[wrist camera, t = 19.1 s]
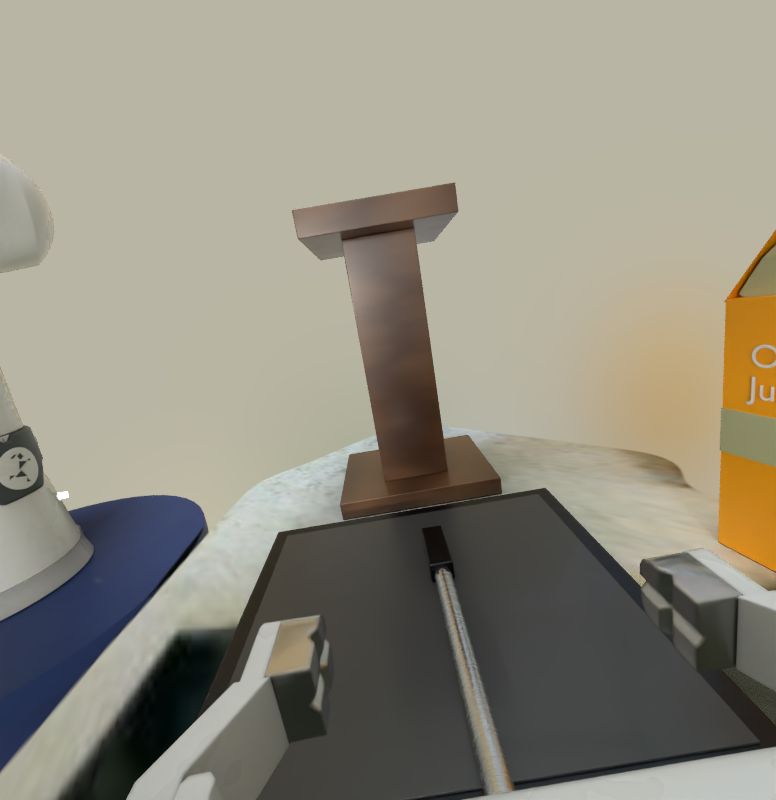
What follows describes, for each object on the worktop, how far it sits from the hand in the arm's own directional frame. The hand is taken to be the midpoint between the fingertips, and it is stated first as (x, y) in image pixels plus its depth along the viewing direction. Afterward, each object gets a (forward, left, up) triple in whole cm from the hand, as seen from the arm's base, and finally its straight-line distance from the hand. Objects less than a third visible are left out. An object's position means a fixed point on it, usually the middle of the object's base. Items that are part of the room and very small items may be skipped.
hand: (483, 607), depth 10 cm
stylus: (0, +7, -8) cm, 11 cm away
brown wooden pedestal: (0, +28, -9) cm, 30 cm away
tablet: (-1, +10, -9) cm, 14 cm away
